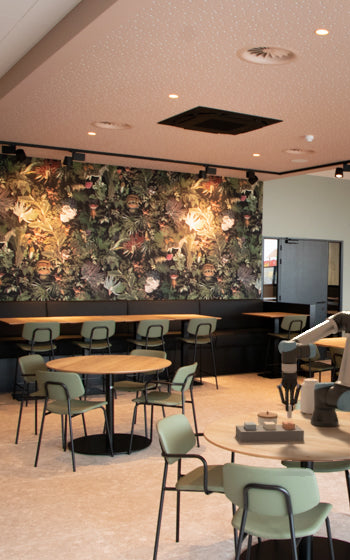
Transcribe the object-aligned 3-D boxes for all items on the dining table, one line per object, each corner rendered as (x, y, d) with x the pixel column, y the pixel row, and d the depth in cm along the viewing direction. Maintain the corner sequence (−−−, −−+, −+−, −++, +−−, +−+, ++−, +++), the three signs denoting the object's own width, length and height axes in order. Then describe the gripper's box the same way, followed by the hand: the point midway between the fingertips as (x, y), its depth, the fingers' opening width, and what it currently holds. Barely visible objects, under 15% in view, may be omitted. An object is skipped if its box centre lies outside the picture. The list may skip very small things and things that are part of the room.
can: (323, 414, 348) (324, 381, 348) (302, 414, 348) (303, 380, 348) (318, 409, 361) (318, 377, 361) (298, 409, 361) (298, 377, 360)
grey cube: (253, 431, 298) (253, 422, 298) (256, 434, 293) (256, 424, 293) (244, 431, 297) (244, 422, 297) (246, 434, 292) (246, 424, 292)
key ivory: (272, 431, 299) (272, 421, 299) (275, 434, 294) (275, 424, 294) (263, 431, 298) (263, 421, 298) (265, 434, 293) (266, 424, 293)
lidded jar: (277, 431, 308) (277, 414, 308) (256, 430, 310) (256, 412, 310) (277, 426, 319) (277, 409, 318) (257, 425, 321) (258, 408, 321)
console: (296, 434, 304) (296, 424, 304) (303, 440, 292) (303, 430, 292) (235, 435, 300) (235, 425, 300) (241, 441, 288) (241, 431, 288)
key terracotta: (291, 431, 300) (291, 421, 300) (294, 433, 295) (294, 423, 295) (282, 431, 299) (282, 421, 299) (285, 433, 294) (285, 424, 294)
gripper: (299, 369, 302) (299, 415, 303) (274, 370, 301) (274, 416, 301) (304, 372, 295) (304, 418, 295) (279, 373, 293) (279, 420, 294)
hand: (289, 417), depth 298 cm, fingers closed
